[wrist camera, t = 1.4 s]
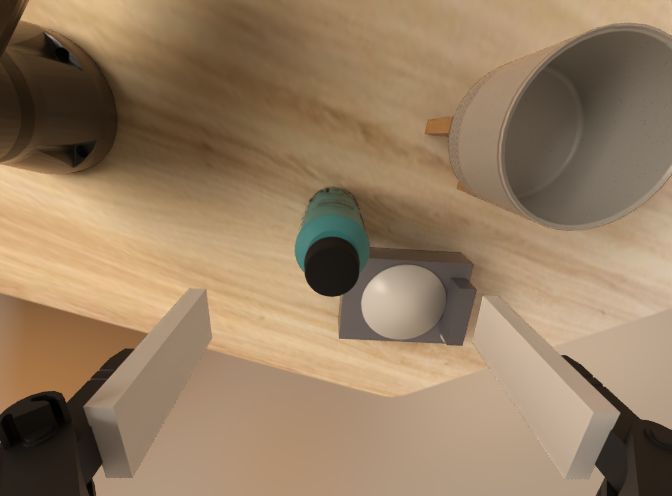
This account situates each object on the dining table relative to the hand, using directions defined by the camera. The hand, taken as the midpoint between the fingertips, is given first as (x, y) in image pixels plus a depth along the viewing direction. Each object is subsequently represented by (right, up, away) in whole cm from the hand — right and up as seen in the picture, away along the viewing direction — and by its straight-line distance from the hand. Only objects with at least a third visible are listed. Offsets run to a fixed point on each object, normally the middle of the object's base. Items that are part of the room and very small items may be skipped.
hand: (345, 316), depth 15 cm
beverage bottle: (-1, +8, +25) cm, 27 cm away
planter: (+17, +17, +23) cm, 33 cm away
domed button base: (+8, -3, +29) cm, 31 cm away
